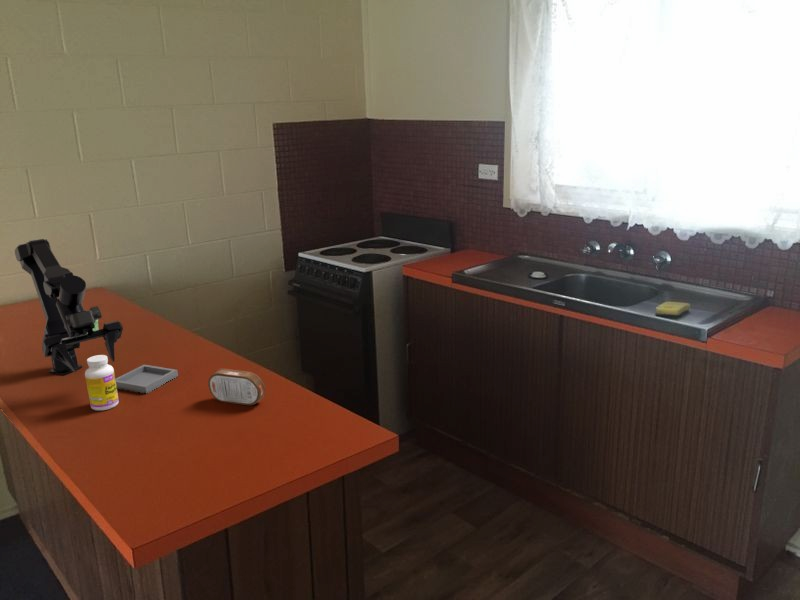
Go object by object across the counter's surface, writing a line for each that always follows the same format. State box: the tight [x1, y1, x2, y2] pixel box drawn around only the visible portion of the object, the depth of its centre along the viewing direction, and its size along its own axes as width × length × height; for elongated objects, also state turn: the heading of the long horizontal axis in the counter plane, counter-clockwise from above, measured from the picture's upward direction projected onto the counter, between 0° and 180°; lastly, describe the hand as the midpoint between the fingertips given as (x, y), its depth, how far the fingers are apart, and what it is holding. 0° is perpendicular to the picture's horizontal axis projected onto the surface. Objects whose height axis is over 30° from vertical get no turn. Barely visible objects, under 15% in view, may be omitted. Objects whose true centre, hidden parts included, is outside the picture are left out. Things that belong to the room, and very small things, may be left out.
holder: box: [115, 364, 179, 395], centre depth 184 cm, size 12×12×2 cm
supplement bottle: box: [84, 354, 120, 412], centre depth 169 cm, size 7×7×13 cm
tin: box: [207, 368, 266, 406], centre depth 169 cm, size 15×3×8 cm, turn 71°
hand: (95, 366), depth 170 cm, fingers open, 9 cm apart
